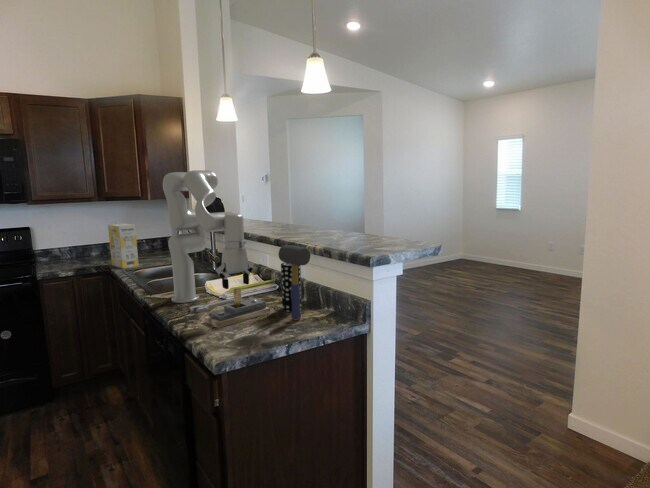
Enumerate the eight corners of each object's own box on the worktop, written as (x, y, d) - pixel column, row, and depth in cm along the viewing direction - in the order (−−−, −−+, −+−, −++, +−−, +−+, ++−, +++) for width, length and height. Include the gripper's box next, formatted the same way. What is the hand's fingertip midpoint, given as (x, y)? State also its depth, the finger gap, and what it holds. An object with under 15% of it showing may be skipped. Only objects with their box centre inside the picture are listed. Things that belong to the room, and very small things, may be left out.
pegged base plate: (209, 316, 170) (208, 308, 169) (254, 304, 185) (254, 296, 184) (220, 321, 164) (219, 312, 164) (265, 308, 179) (265, 300, 179)
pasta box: (138, 265, 288) (135, 224, 284) (122, 268, 281) (119, 226, 277) (127, 262, 301) (123, 223, 296) (111, 265, 293) (107, 224, 289)
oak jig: (205, 322, 170) (204, 317, 169) (256, 308, 187) (256, 303, 187) (218, 327, 163) (218, 322, 162) (270, 312, 180) (270, 308, 180)
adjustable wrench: (237, 299, 203) (237, 296, 203) (245, 302, 199) (245, 298, 198) (188, 310, 186) (188, 307, 186) (195, 314, 182) (195, 310, 181)
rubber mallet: (279, 318, 172) (276, 245, 168) (293, 314, 178) (290, 243, 173) (299, 325, 164) (297, 248, 159) (313, 320, 169) (311, 245, 164)
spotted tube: (296, 312, 179) (295, 266, 176) (279, 310, 182) (277, 265, 179) (304, 307, 187) (303, 262, 184) (287, 305, 190) (286, 261, 187)
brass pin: (232, 312, 174) (231, 289, 173) (239, 311, 177) (238, 287, 175) (237, 314, 172) (235, 290, 171) (243, 312, 174) (242, 288, 173)
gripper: (247, 241, 179) (248, 280, 182) (210, 246, 167) (212, 288, 170) (257, 243, 174) (258, 283, 177) (220, 248, 162) (222, 292, 165)
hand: (236, 286), depth 173 cm, fingers open, 9 cm apart
